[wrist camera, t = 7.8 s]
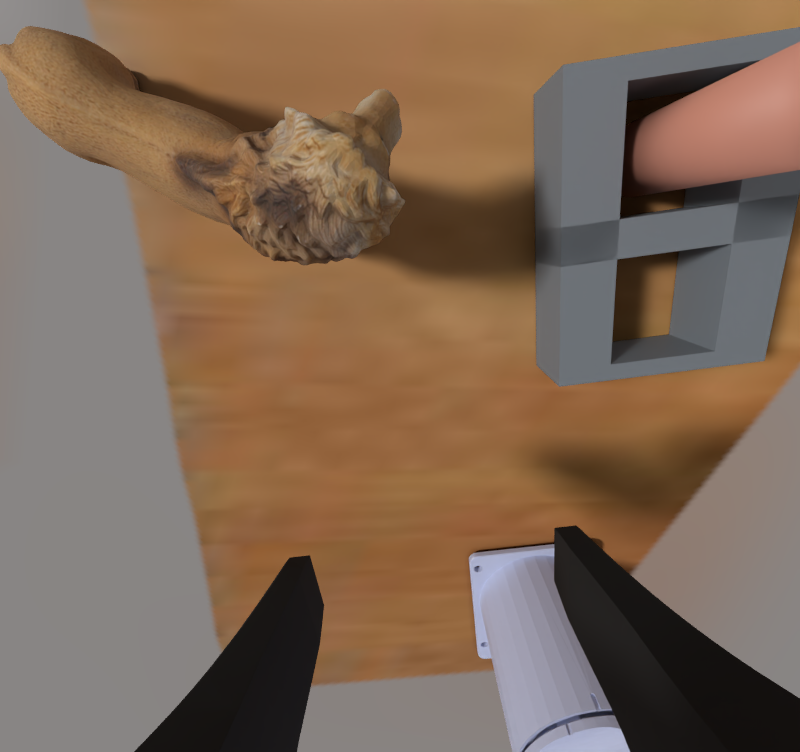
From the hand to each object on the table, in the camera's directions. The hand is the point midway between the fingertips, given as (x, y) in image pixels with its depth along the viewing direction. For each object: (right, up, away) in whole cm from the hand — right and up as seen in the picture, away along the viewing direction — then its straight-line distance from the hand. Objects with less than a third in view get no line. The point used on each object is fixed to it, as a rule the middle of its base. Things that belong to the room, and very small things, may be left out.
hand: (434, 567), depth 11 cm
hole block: (+10, +12, +7) cm, 17 cm away
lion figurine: (-7, +15, +6) cm, 18 cm away
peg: (+9, +15, +6) cm, 19 cm away
